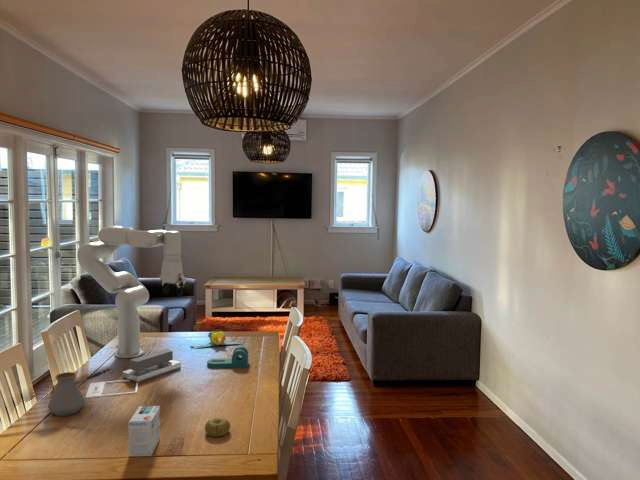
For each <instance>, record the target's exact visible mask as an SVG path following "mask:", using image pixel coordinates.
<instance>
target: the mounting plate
mask: <svg viewBox="0 0 640 480" xmlns="http://www.w3.org/2000/svg"><path fill="white" fill-rule="evenodd" d="M181 364H182V363H181V361H178V360H175V359H173V360H171V361H169V364H166V365H163V366H162V365H159V364H158V365H155V366H152V367H149V368H146V369H145V372H143V373H140V374H138V373H135V371H134V370H131V369H130V368H129V369H127V370H123V371H121V376H122V377H121V378H122V380H129V381H128V382H130V383H132V384H133V383H134V384H136V383H138V385H139V384H141V383H144V382H147V381H149V380H153V379H157V378H159V377H162V376H164V375H167V374H169V373H173V372H176V371H178V370H181V368H182V365H181Z"/></svg>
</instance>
